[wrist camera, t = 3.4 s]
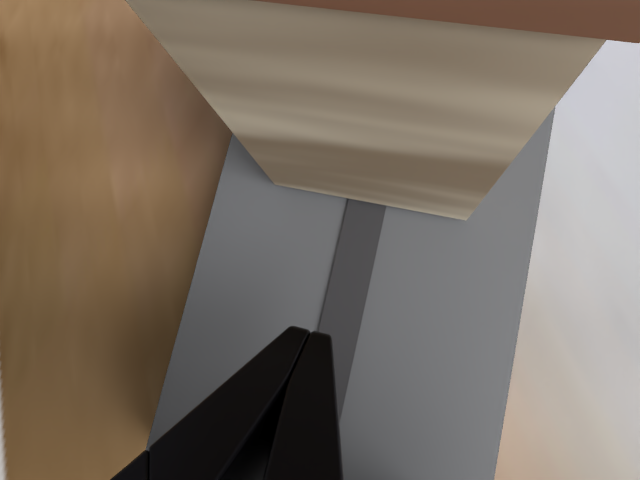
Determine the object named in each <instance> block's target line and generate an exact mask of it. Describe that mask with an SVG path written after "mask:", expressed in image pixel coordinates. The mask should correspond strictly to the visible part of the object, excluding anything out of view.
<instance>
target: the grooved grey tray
mask: <svg viewBox="0 0 640 480" xmlns="http://www.w3.org/2000/svg"><path fill="white" fill-rule="evenodd" d="M554 111H555V107H554V108H553V110H552V111H551V112H550V113H549V115H548V116H547V117H546V119H545V120H544V121H543V122H542V124H541V125H540V126H539V128H538V129H537V130H536V132H535V133H534V134H533V135H532V137H531V138H530V139H529V141H528V142H527V143H526V144H525V146H524V147H523V148H522V150H521V151H520V152H519V153H518V155H517V156H516V157H515V159H514V160H513V161H512V162H511V164H510V165H509V166H508V168H507V169H506V170H505V171H504V173H503V174H502V175H501V177H500V178H499V179H498V180H497V182H496V183H495V184H494V186H493V187H492V188H491V189H490V191H489V192H488V193H487V195H486V196H485V197H484V198H483V200H482V201H481V202H480V204H479V205H478V206H477V208H476V209H475V210H474V211H473V213H472V214H471V215H470V217H469V218H468V219H467V220H460V219H455V218H450V217H444V216H439V215H434V214H428V213H423V212H418V211H413V210H407V209H402V208H397V207H391V206H386V205H381V204H375V203H370V202H365V201H359V200H354V199H349V198H343V197H338V196H333V195H327V194H322V193H317V192H311V191H306V190H301V189H295V188H290V187H285V186H279V185H275V184H274V183H273V182H272V181H271V179H270V178H269V177H268V176H267V174H266V173H265V172H264V171H263V169H262V168H261V167H260V166H259V165H258V163H257V162H256V161H255V160H254V158H253V157H252V156H251V155H250V153H249V152H248V151H247V150H246V148H245V147H244V146H243V145H242V144H241V142H240V141H239V140H238V139H237V137H236V136H235V135H234V134H233V133H232V137H231V140H230V144H229V148H228V151H227V155H226V159H225V162H224V166H223V170H222V173H221V177H220V180H219V184H218V188H217V191H216V195H215V199H214V202H213V206H212V210H211V213H210V217H209V221H208V224H207V228H206V231H205V235H204V239H203V242H202V246H201V250H200V253H199V257H198V261H197V264H196V268H195V272H194V275H193V279H192V283H191V286H190V290H189V293H188V297H187V301H186V304H185V308H184V312H183V315H182V319H181V323H180V326H179V330H178V334H177V337H176V341H175V344H174V348H173V352H172V355H171V359H170V363H169V366H168V370H167V374H166V377H165V381H164V385H163V388H162V392H161V395H160V399H159V403H158V406H157V410H156V414H155V417H154V421H153V425H152V428H151V432H150V436H149V439H148V443H147V446H146V450H148V451H149V447H150V446H151V445H152V444H153V443H154V442H155V441H157V440H158V439H159V438H160V437H161V436H162V435H164V434H165V433H166V432H167V431H168V430H169V429H171V428H172V427H173V426H174V425H175V424H176V423H178V422H179V421H180V420H181V419H182V418H183V417H184V416H186V415H187V414H188V413H189V412H190V411H191V410H193V409H194V408H195V407H196V406H197V405H198V404H200V403H201V402H202V401H203V400H204V399H205V398H207V397H208V396H209V395H210V394H211V393H212V392H214V391H215V390H216V389H217V388H218V387H219V386H221V385H222V384H223V383H224V382H225V381H226V380H228V379H229V378H230V377H231V376H232V375H233V374H235V373H236V372H237V371H238V370H239V369H240V368H241V367H243V366H244V365H245V364H246V363H247V362H248V361H250V360H251V359H252V358H253V357H254V356H255V355H257V354H258V353H259V352H260V351H261V350H262V349H264V348H265V347H266V346H267V345H268V344H269V343H271V342H272V341H273V340H274V339H275V338H276V337H278V336H279V335H280V334H281V333H282V332H283V331H285V330H286V329H287V328H288V327H290V326H297V327H301V328H305V329H308V330H309V331H310V332H312V331H317V332H321V333H325V334H329V335H330V336H331V337H332V344H333V356H334V367H335V379H336V390H337V402H338V414H339V425H340V437H341V449H342V460H343V472H344V480H494V476H495V470H496V464H497V458H498V452H499V445H500V439H501V433H502V427H503V421H504V415H505V409H506V403H507V397H508V391H509V385H510V379H511V373H512V366H513V360H514V354H515V348H516V342H517V336H518V330H519V324H520V318H521V312H522V306H523V300H524V294H525V287H526V281H527V275H528V269H529V263H530V257H531V251H532V245H533V239H534V233H535V227H536V221H537V215H538V208H539V202H540V196H541V190H542V184H543V178H544V172H545V166H546V160H547V154H548V148H549V142H550V136H551V129H552V123H553V117H554Z"/></svg>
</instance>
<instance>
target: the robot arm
mask: <svg viewBox="0 0 640 480" xmlns="http://www.w3.org/2000/svg"><path fill="white" fill-rule="evenodd" d="M110 480H344V472H343V460H342V449H341V437H340V425H339V414H338V402H337V390H336V379H335V367H334V356H333V344H332V337H331V336H330V335H329V334H325V333H321V332H317V331H312V332H310V331H309V330H308V329H305V328H301V327H297V326H290V327H288V328H287V329H286V330H285V331H283V332H282V333H281V334H280V335H279V336H278V337H276V338H275V339H274V340H273V341H272V342H271V343H269V344H268V345H267V346H266V347H265V348H264V349H262V350H261V351H260V352H259V353H258V354H257V355H255V356H254V357H253V358H252V359H251V360H250V361H248V362H247V363H246V364H245V365H244V366H243V367H241V368H240V369H239V370H238V371H237V372H236V373H235V374H233V375H232V376H231V377H230V378H229V379H228V380H226V381H225V382H224V383H223V384H222V385H221V386H219V387H218V388H217V389H216V390H215V391H214V392H212V393H211V394H210V395H209V396H208V397H207V398H205V399H204V400H203V401H202V402H201V403H200V404H198V405H197V406H196V407H195V408H194V409H193V410H191V411H190V412H189V413H188V414H187V415H186V416H184V417H183V418H182V419H181V420H180V421H179V422H178V423H176V424H175V425H174V426H173V427H172V428H171V429H169V430H168V431H167V432H166V433H165V434H164V435H162V436H161V437H160V438H159V439H158V440H157V441H155V442H154V443H153V444H152V445H151V446H150V447H149V451H148V450H145V451H143V452H142V453H141V454H140V455H139V456H138V457H136V458H135V459H134V460H133V461H132V462H131V463H130V464H128V465H127V466H126V467H125V468H124V469H122V470H121V471H120V472H119V473H118V474H116V475H115V476H114V477H113V478H111V479H110Z"/></svg>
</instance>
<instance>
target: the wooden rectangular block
mask: <svg viewBox="0 0 640 480" xmlns="http://www.w3.org/2000/svg"><path fill="white" fill-rule="evenodd" d="M125 1H126V2H127V3H128V4H129V6H130V7H131V8H132V9H133V10H134V12H135V13H136V14H137V15H138V17H139V18H140V19H141V20H142V22H143V23H144V24H145V25H146V26H147V28H148V29H149V30H150V31H151V33H152V34H153V35H154V36H155V38H156V39H157V40H158V41H159V42H160V44H161V45H162V46H163V47H164V49H165V50H166V51H167V52H168V54H169V55H170V56H171V57H172V59H173V60H174V61H175V62H176V63H177V65H178V66H179V67H180V68H181V70H182V71H183V72H184V73H185V75H186V76H187V77H188V78H189V79H190V81H191V82H192V83H193V84H194V86H195V87H196V88H197V89H198V91H199V92H200V93H201V94H202V95H203V97H204V98H205V99H206V100H207V102H208V103H209V104H210V105H211V107H212V108H213V109H214V110H215V112H216V113H217V114H218V115H219V116H220V118H221V119H222V120H223V121H224V123H225V124H226V125H227V126H228V128H229V129H230V130H231V131H232V132H233V134H234V135H235V136H236V137H237V139H238V140H239V141H240V142H241V144H242V145H243V146H244V147H245V148H246V150H247V151H248V152H249V153H250V155H251V156H252V157H253V158H254V160H255V161H256V162H257V163H258V165H259V166H260V167H261V168H262V169H263V171H264V172H265V173H266V174H267V176H268V177H269V178H270V179H271V181H272V182H273V183H274V184H275V185H279V186H285V187H290V188H295V189H301V190H306V191H311V192H317V193H322V194H327V195H333V196H338V197H343V198H349V199H354V200H359V201H365V202H370V203H375V204H381V205H386V206H391V207H397V208H402V209H407V210H413V211H418V212H423V213H428V214H434V215H439V216H444V217H450V218H455V219H460V220H467V219H468V218H469V217H470V215H471V214H472V213H473V211H474V210H475V209H476V208H477V206H478V205H479V204H480V202H481V201H482V200H483V198H484V197H485V196H486V195H487V193H488V192H489V191H490V189H491V188H492V187H493V186H494V184H495V183H496V182H497V180H498V179H499V178H500V177H501V175H502V174H503V173H504V171H505V170H506V169H507V168H508V166H509V165H510V164H511V162H512V161H513V160H514V159H515V157H516V156H517V155H518V153H519V152H520V151H521V150H522V148H523V147H524V146H525V144H526V143H527V142H528V141H529V139H530V138H531V137H532V135H533V134H534V133H535V132H536V130H537V129H538V128H539V126H540V125H541V124H542V122H543V121H544V120H545V119H546V117H547V116H548V115H549V113H550V112H551V111H552V110H553V108H554V107H555V106H556V104H557V103H558V102H559V101H560V99H561V98H562V97H563V95H564V94H565V93H566V92H567V90H568V89H569V88H570V86H571V85H572V84H573V83H574V81H575V80H576V79H577V77H578V76H579V75H580V74H581V72H582V71H583V70H584V68H585V67H586V66H587V65H588V63H589V62H590V61H591V59H592V58H593V57H594V55H595V54H596V53H597V52H598V50H599V49H600V48H601V46H602V45H603V44H604V43H605V41H606V40H614V41H623V42H632V43H640V0H125Z"/></svg>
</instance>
